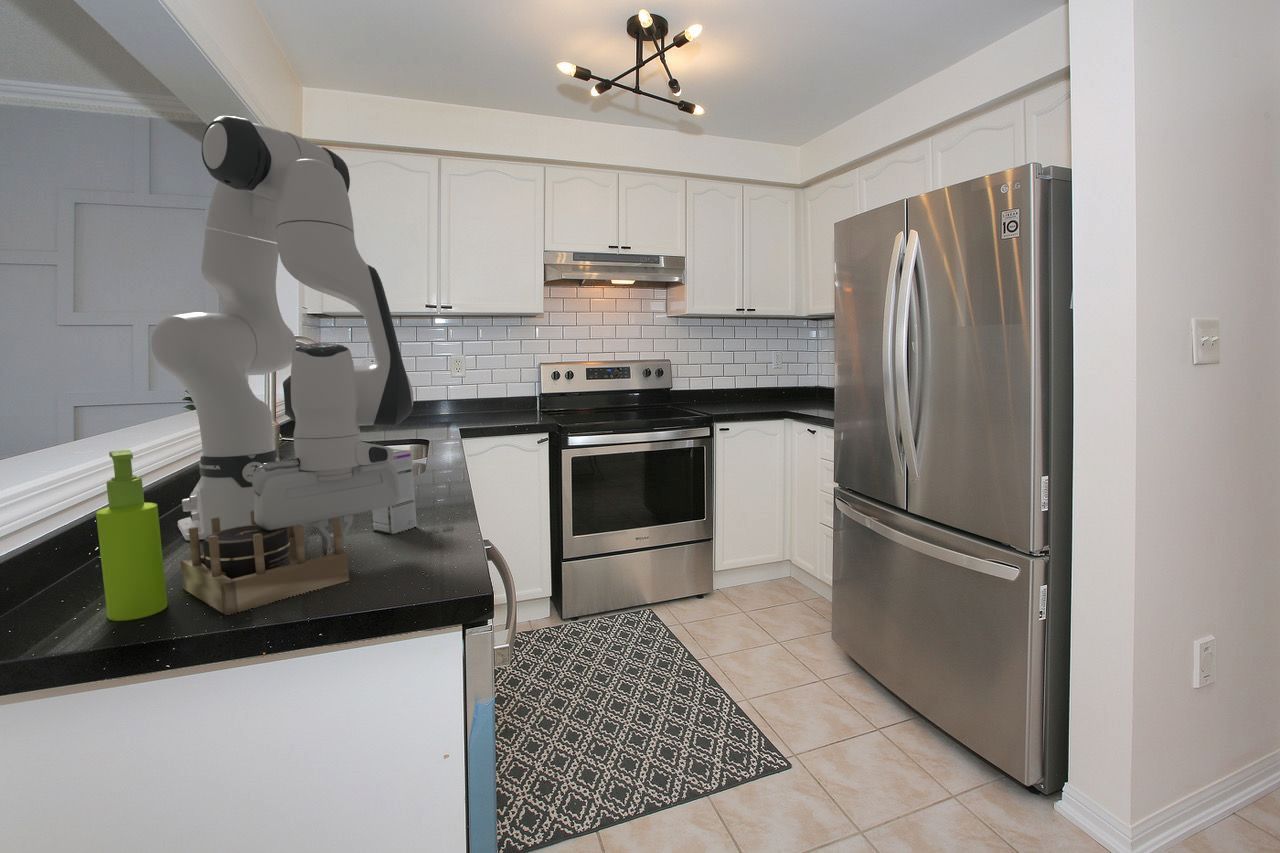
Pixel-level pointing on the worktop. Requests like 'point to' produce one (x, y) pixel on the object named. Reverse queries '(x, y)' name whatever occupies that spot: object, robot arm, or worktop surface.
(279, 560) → the jar
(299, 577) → the dish rack
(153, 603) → the soap dispenser
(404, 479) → the syrup box
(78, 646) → the worktop surface
